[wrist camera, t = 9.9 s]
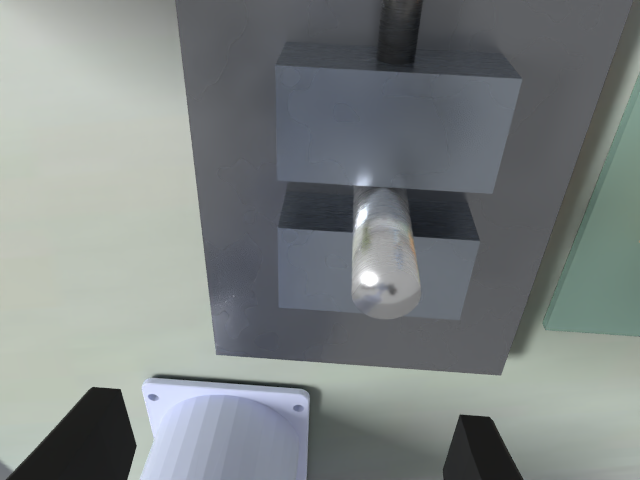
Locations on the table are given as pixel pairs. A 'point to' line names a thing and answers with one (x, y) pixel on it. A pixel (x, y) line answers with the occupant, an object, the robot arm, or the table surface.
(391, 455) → the table surface
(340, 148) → the vise
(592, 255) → the mat
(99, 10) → the table surface
